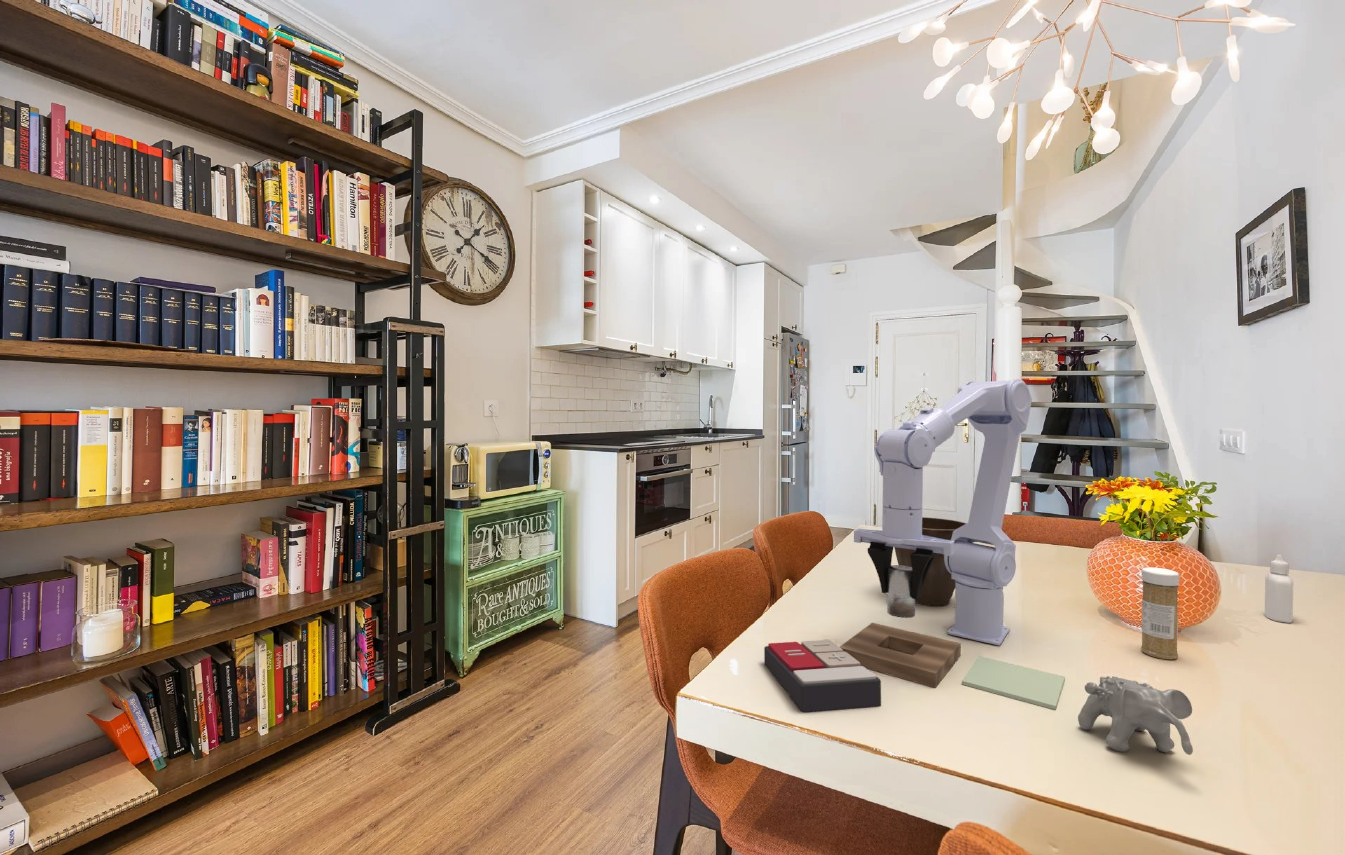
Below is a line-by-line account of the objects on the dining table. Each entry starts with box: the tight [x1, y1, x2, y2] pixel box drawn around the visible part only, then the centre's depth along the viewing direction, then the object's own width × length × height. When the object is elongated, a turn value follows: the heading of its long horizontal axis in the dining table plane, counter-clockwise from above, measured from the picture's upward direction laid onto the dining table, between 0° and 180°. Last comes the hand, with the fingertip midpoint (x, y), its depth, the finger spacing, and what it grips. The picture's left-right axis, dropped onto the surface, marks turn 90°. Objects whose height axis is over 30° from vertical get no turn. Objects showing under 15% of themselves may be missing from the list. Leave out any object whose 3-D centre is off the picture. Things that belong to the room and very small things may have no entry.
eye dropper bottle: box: [1264, 554, 1294, 624], centre depth 108 cm, size 4×6×12 cm
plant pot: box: [893, 516, 967, 607], centre depth 118 cm, size 15×15×16 cm
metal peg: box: [886, 564, 916, 619], centre depth 89 cm, size 4×4×7 cm
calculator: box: [763, 639, 882, 714], centre depth 81 cm, size 11×4×15 cm
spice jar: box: [1140, 566, 1180, 660], centre depth 91 cm, size 5×5×14 cm
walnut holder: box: [839, 622, 962, 689], centre depth 89 cm, size 14×14×2 cm
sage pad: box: [961, 655, 1066, 711], centre depth 81 cm, size 11×11×1 cm
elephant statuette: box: [1077, 675, 1194, 756], centre depth 65 cm, size 9×12×8 cm
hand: (901, 594), depth 89 cm, fingers closed on metal peg, 4 cm apart
